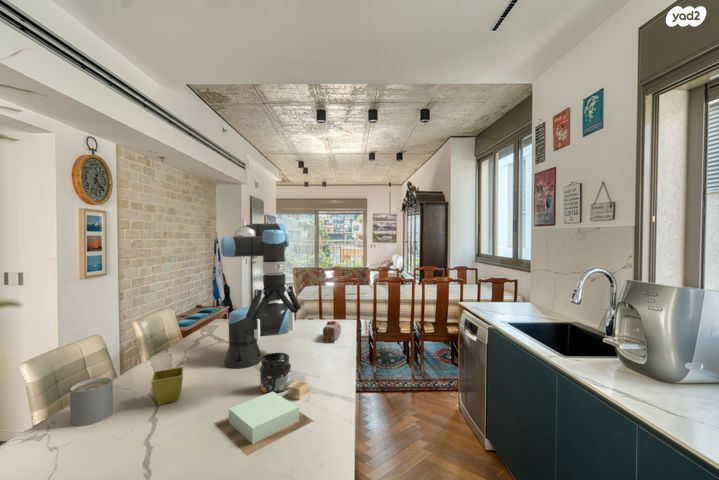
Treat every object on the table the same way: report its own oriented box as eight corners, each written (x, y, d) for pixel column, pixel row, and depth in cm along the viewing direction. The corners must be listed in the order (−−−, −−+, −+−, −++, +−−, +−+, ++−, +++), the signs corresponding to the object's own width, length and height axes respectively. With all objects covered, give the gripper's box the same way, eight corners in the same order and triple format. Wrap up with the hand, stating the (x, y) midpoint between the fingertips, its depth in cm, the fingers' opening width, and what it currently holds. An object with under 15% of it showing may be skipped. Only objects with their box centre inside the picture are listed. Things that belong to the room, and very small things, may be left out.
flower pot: (151, 409, 102) (151, 381, 102) (154, 397, 110) (154, 371, 110) (183, 402, 106) (182, 375, 106) (183, 391, 114) (183, 366, 114)
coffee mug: (98, 425, 94) (97, 390, 94) (61, 427, 93) (60, 392, 93) (127, 402, 107) (126, 371, 107) (95, 403, 106) (94, 373, 106)
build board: (213, 428, 91) (213, 423, 91) (276, 402, 105) (276, 397, 105) (247, 461, 77) (247, 455, 77) (313, 426, 91) (313, 420, 91)
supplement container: (258, 387, 116) (258, 354, 116) (288, 382, 120) (287, 350, 120) (262, 401, 106) (261, 364, 106) (293, 394, 110) (293, 359, 110)
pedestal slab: (228, 422, 91) (228, 408, 91) (272, 404, 101) (272, 391, 101) (252, 444, 81) (252, 428, 81) (298, 421, 91) (298, 407, 91)
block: (287, 401, 106) (287, 386, 106) (297, 395, 110) (297, 380, 110) (299, 405, 103) (299, 389, 103) (309, 398, 108) (309, 383, 108)
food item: (327, 335, 178) (327, 317, 178) (341, 335, 177) (341, 318, 177) (321, 343, 165) (321, 324, 165) (337, 343, 164) (336, 324, 164)
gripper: (245, 277, 102) (246, 345, 101) (309, 271, 119) (310, 328, 119) (234, 276, 107) (235, 340, 107) (297, 270, 125) (298, 325, 125)
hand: (275, 334), depth 113 cm, fingers open, 13 cm apart
